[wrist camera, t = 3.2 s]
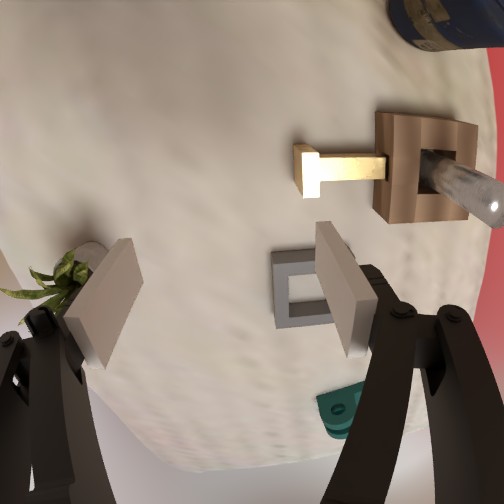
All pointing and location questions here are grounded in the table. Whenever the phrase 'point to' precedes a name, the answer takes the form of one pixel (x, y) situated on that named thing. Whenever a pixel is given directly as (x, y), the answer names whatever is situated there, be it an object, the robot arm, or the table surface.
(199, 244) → the table surface
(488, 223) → the grey rounded rod
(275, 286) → the grey square frame
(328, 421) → the bracket
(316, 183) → the yellow t-shaped block
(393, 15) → the canister
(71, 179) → the table surface
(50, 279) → the house plant
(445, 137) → the socket block
